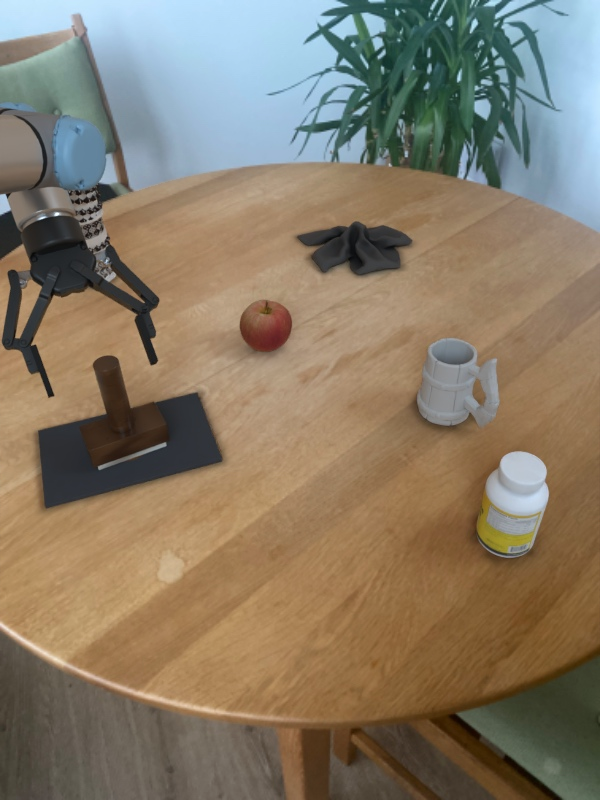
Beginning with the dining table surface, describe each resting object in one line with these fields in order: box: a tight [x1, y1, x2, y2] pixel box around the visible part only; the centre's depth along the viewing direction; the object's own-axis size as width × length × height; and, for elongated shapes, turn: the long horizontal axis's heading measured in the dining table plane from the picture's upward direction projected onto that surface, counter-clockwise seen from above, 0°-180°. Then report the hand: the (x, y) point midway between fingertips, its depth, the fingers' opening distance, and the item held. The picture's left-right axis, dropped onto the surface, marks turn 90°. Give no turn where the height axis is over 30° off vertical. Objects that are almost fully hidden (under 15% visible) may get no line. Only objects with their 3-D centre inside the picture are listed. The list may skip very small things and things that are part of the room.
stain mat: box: [37, 392, 223, 509], centre depth 89 cm, size 22×14×1 cm, turn 110°
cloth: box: [296, 220, 413, 275], centre depth 126 cm, size 22×19×6 cm
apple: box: [239, 299, 293, 353], centre depth 103 cm, size 8×8×8 cm
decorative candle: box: [68, 182, 117, 283], centre depth 115 cm, size 9×9×25 cm
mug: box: [416, 337, 501, 429], centre depth 88 cm, size 8×12×12 cm, turn 41°
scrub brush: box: [79, 354, 170, 470], centre depth 83 cm, size 10×5×14 cm, turn 118°
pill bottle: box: [475, 450, 550, 559], centre depth 73 cm, size 6×6×12 cm
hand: (104, 379), depth 87 cm, fingers open, 13 cm apart
